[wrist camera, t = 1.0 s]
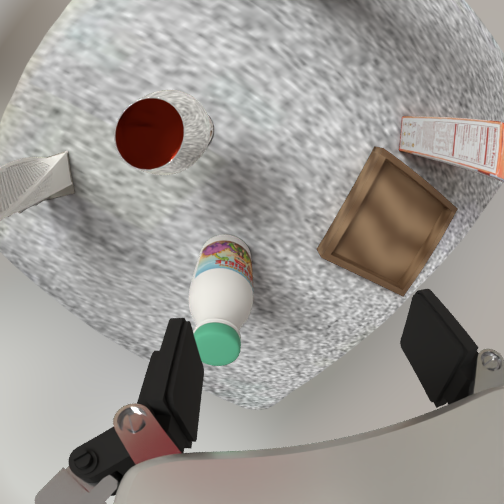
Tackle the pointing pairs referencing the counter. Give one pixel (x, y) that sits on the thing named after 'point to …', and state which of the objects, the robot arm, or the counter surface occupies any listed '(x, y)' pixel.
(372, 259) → the walnut tray
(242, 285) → the milk bottle
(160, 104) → the wineglass
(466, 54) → the counter surface
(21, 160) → the skyscraper
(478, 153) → the cracker box
